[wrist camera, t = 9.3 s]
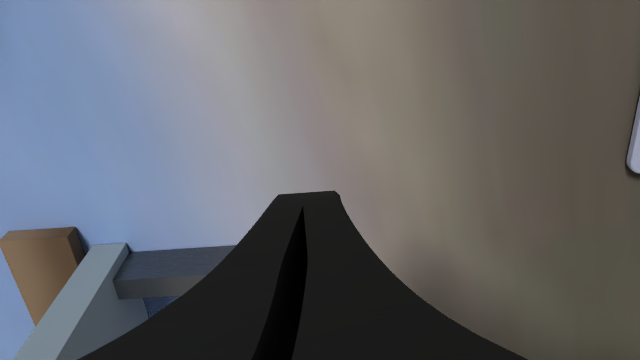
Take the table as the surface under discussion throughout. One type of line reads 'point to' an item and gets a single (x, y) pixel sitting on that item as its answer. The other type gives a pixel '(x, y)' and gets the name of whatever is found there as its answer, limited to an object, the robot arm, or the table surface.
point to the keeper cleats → (166, 271)
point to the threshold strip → (42, 264)
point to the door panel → (85, 310)
